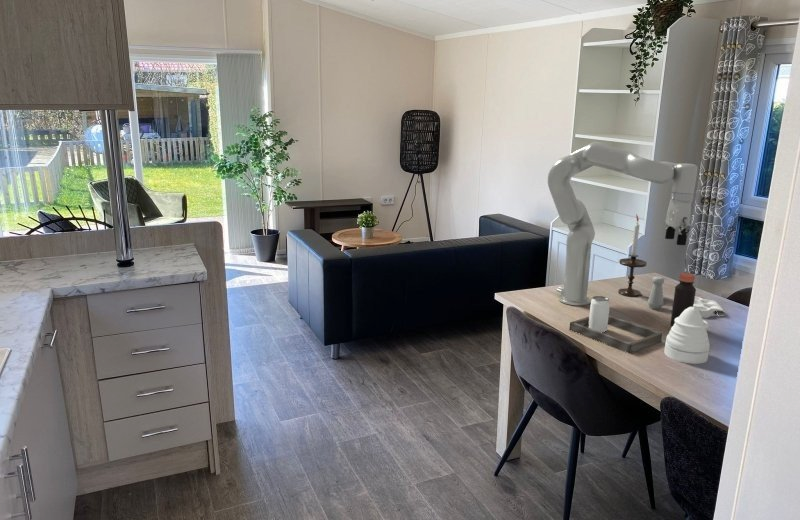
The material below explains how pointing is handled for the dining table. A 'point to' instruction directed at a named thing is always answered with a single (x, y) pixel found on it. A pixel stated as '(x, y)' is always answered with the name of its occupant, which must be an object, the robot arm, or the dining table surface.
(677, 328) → the honey pot
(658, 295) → the salt shaker
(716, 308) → the white crumpled cloth
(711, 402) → the dining table surface
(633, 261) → the candlestick
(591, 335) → the frame
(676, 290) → the bottle
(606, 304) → the can
